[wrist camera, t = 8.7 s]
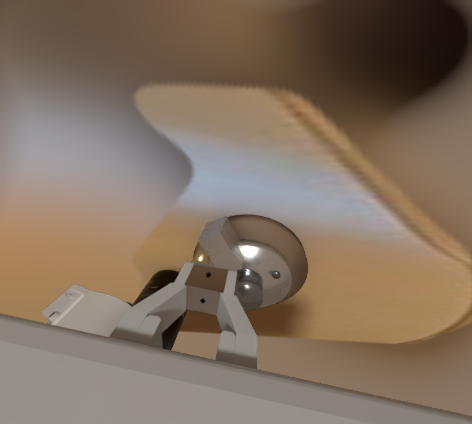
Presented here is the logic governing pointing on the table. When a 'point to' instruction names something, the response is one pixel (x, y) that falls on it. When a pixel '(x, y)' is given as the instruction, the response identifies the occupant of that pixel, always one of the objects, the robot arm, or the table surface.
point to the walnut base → (271, 235)
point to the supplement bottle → (153, 286)
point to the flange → (247, 264)
